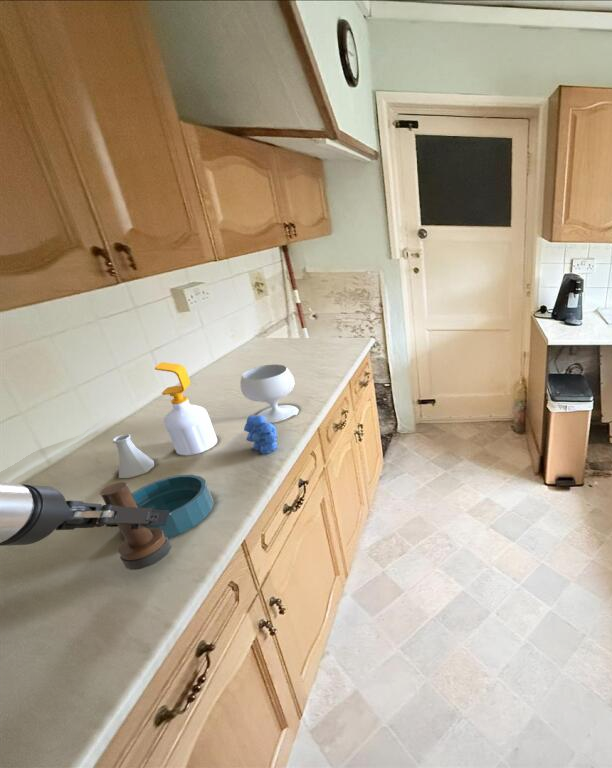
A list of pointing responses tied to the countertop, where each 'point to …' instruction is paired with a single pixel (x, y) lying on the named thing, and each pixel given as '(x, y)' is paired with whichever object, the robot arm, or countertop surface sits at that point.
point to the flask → (131, 458)
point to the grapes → (261, 434)
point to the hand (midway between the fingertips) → (154, 518)
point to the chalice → (269, 390)
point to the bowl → (177, 501)
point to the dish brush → (136, 533)
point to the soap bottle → (186, 417)
